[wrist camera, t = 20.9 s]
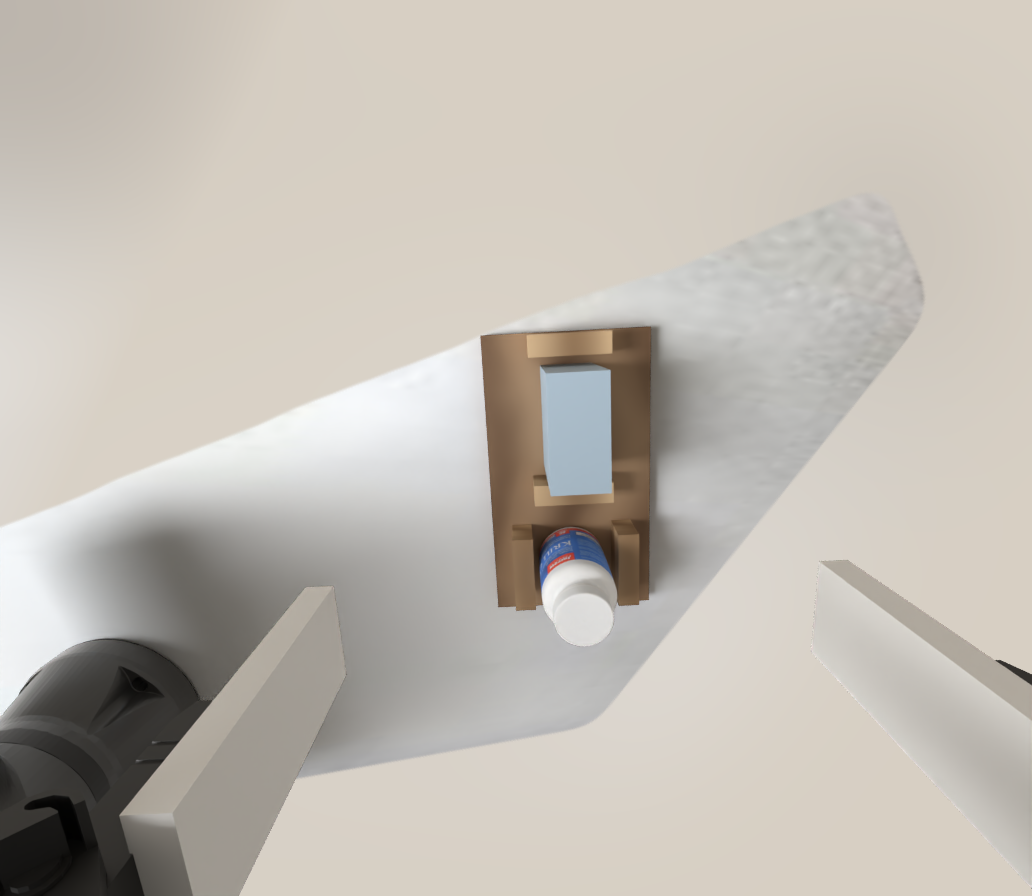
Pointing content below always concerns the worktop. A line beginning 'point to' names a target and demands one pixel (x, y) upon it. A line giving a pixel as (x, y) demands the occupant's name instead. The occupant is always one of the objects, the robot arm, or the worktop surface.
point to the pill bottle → (577, 586)
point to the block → (576, 428)
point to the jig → (520, 459)
